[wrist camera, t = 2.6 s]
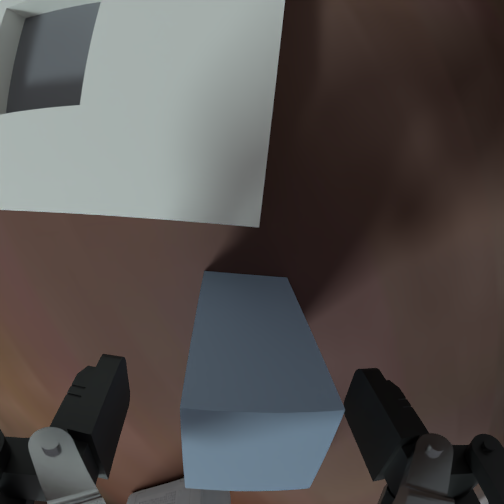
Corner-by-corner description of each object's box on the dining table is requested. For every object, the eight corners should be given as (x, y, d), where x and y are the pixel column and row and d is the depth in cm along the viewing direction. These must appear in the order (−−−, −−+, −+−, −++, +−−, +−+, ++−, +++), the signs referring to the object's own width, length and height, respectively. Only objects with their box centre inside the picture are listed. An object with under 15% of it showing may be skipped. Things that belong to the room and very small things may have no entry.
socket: (283, -48, 10) (293, -79, 8) (253, 212, 14) (258, 227, 12) (-25, -3, 8) (-50, -14, 6) (-57, 197, 13) (-87, 207, 10)
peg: (287, 277, 16) (345, 409, 7) (275, 345, 17) (309, 488, 8) (204, 270, 15) (180, 407, 7) (200, 341, 16) (184, 487, 8)
